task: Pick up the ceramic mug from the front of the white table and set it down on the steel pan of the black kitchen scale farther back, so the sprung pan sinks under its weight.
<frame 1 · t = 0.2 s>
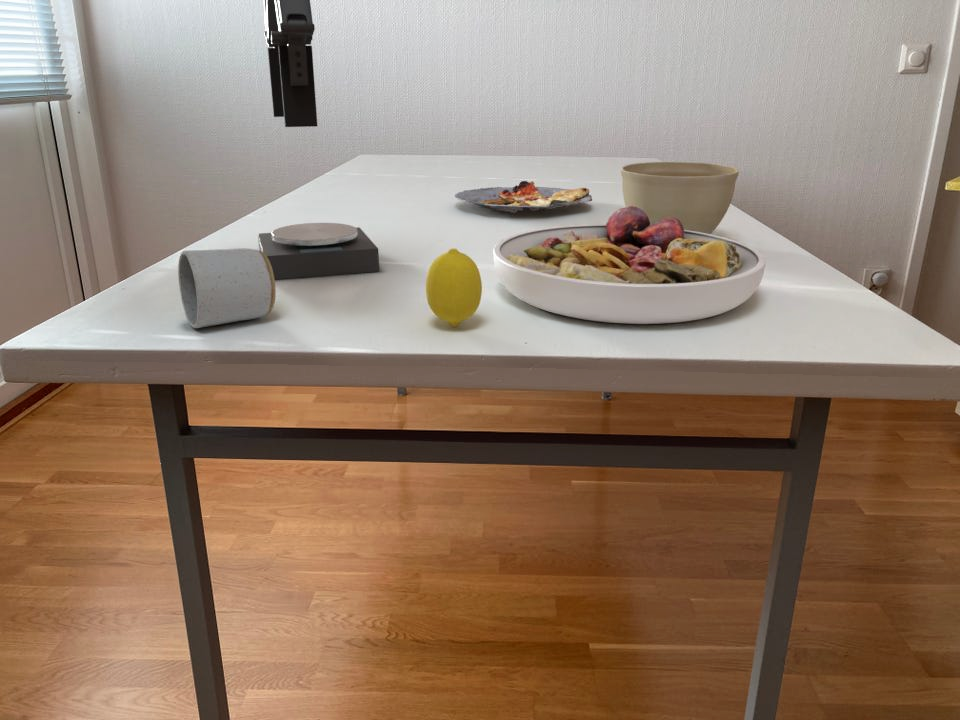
hand: (293, 121, 73), 20 cm above the table, tool pointing down, fingers open, 13 cm apart
planter bowl: (672, 244, 114), on the table
lemon: (454, 328, 78), on the table
food plate: (523, 208, 142), on the table
scale: (317, 262, 103), on the table
bowl: (622, 294, 90), on the table
ceramic mug: (224, 319, 81), on the table
scale pan: (315, 233, 102), point 4 cm above the table, slide at 0.0 cm
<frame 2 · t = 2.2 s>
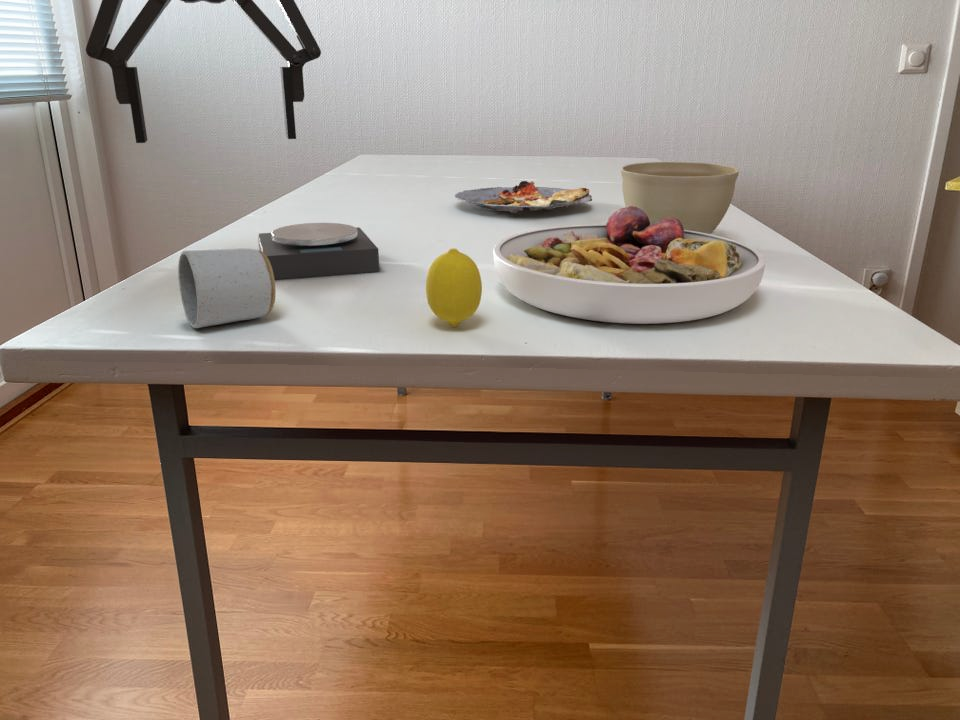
hand: (218, 140, 74), 18 cm above the table, tool pointing down, fingers open, 13 cm apart
nothing on the table moved.
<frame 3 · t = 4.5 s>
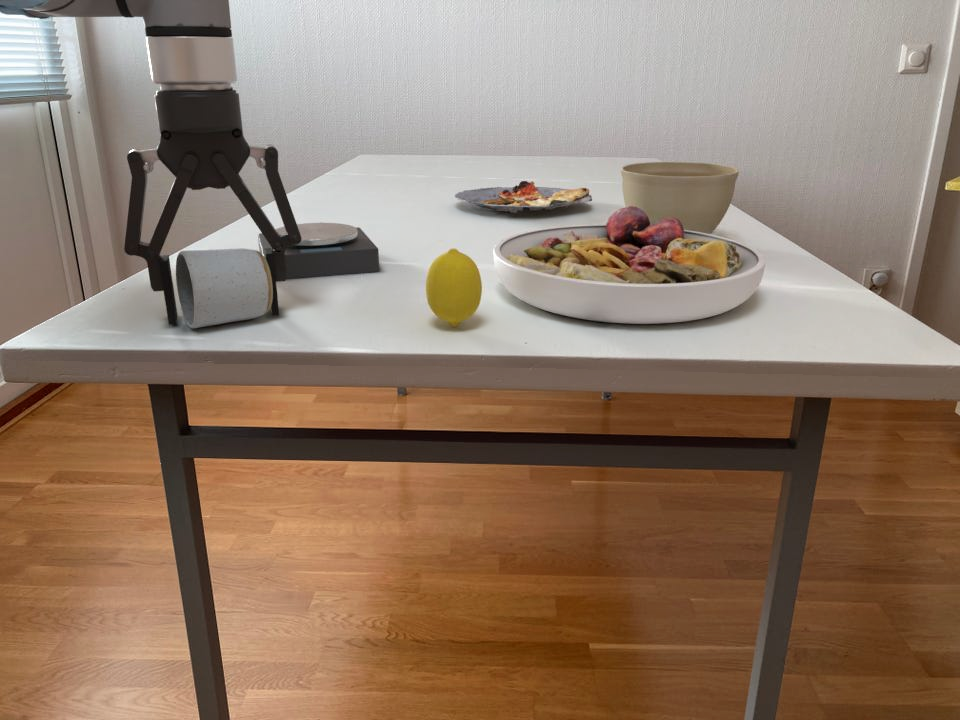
hand: (225, 315, 81), 0 cm above the table, tool pointing down, fingers open, 9 cm apart
ceramic mug: (222, 319, 81), on the table, touching gripper
everything else where it was.
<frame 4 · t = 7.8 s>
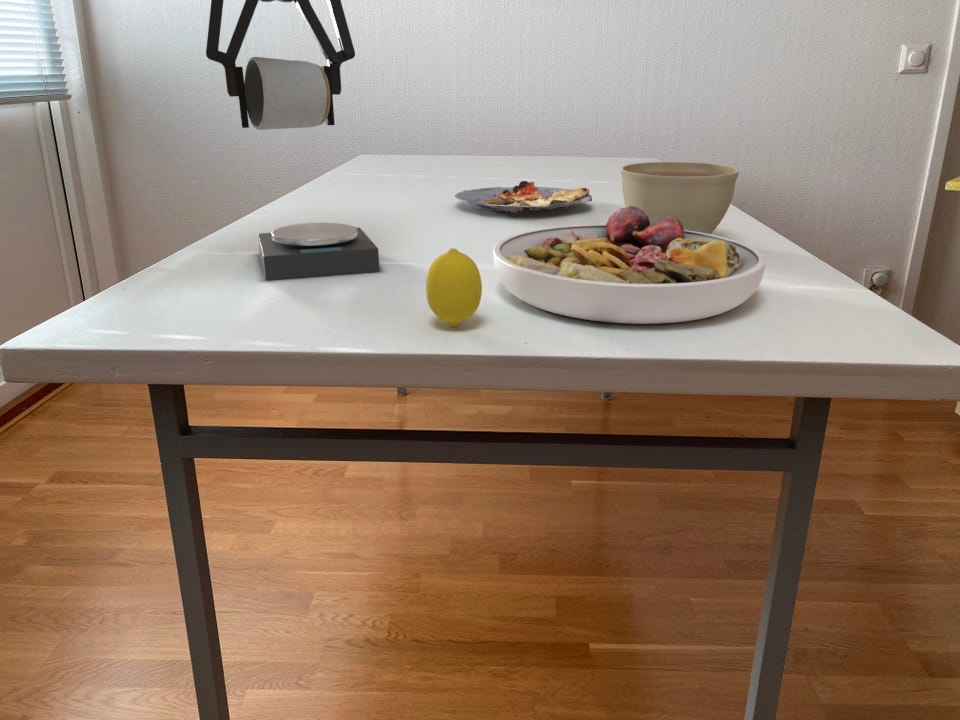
hand: (288, 125, 91), 18 cm above the table, tool pointing down, fingers closed on ceramic mug, 9 cm apart
ceramic mug: (284, 129, 91), point 17 cm above the table, touching gripper
everything else where it was.
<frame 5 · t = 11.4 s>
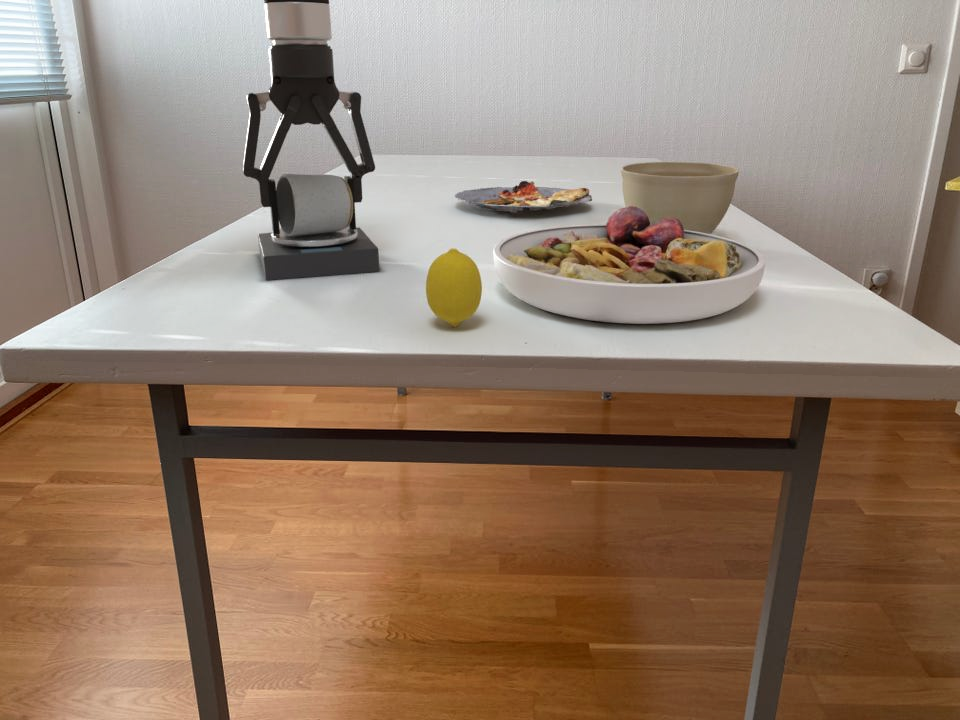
hand: (314, 229, 101), 4 cm above the table, tool pointing down, fingers closed on ceramic mug, 9 cm apart
ceramic mug: (311, 233, 101), point 4 cm above the table, touching gripper
scale pan: (315, 234, 102), point 4 cm above the table, slide at -0.1 cm, touching gripper
everything else where it was.
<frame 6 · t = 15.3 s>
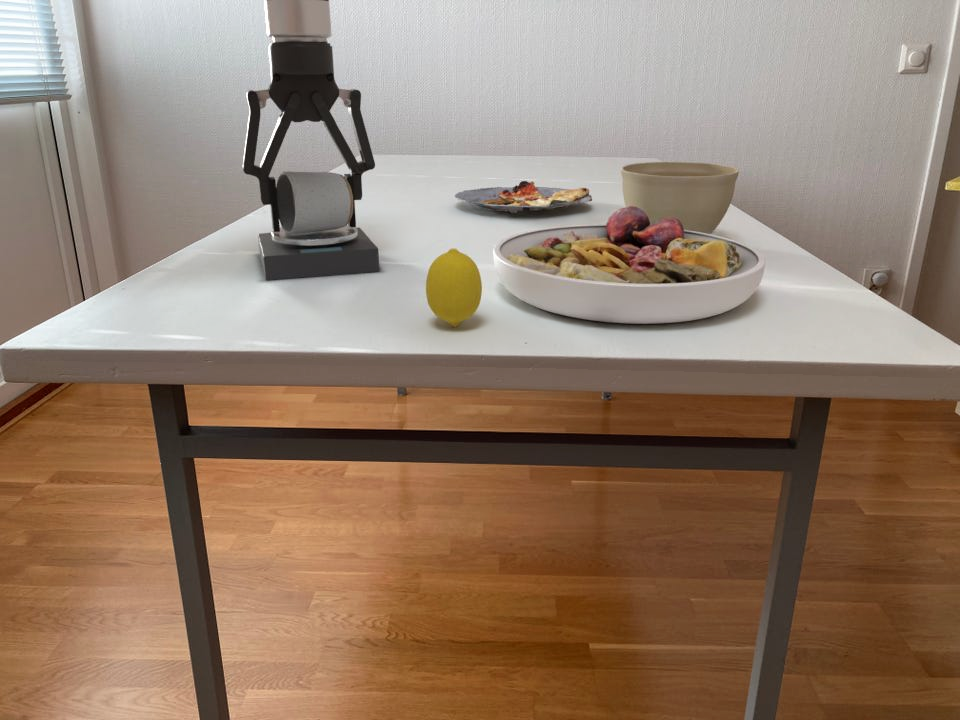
hand: (314, 227, 101), 5 cm above the table, tool pointing down, fingers closed on ceramic mug, 9 cm apart
ceramic mug: (311, 230, 101), point 4 cm above the table, touching gripper
scale pan: (315, 233, 102), point 4 cm above the table, slide at 0.0 cm
everything else where it was.
when the fingers open (5 cm above the table, at t = 18.9 s): ceramic mug drops 1 cm, resting on scale pan.
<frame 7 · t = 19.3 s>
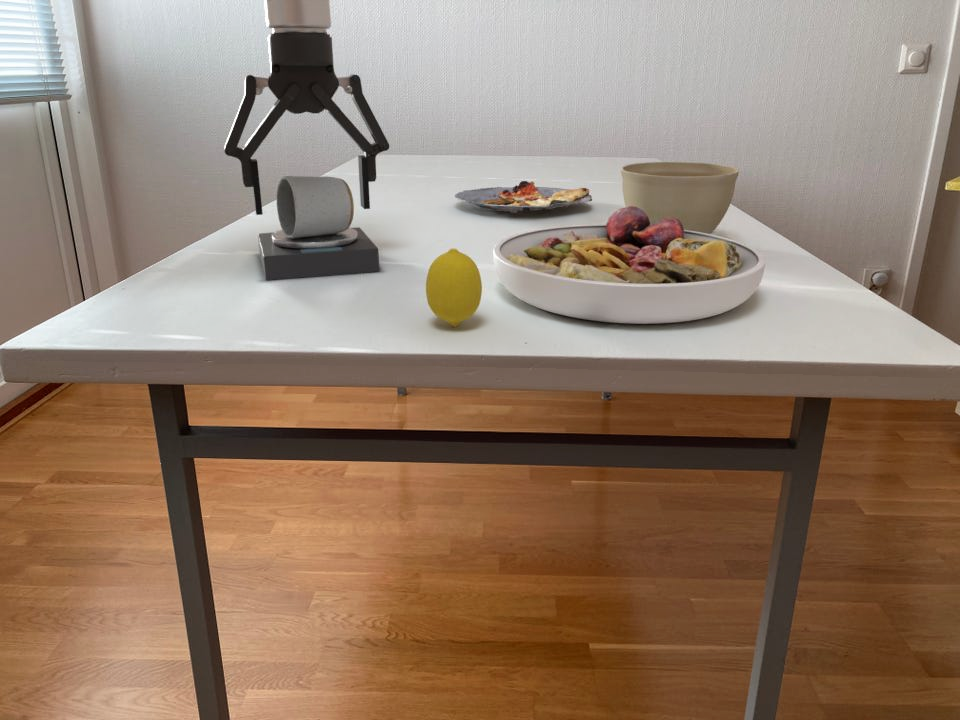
hand: (313, 210, 100), 7 cm above the table, tool pointing down, fingers open, 13 cm apart
ceramic mug: (311, 235, 101), point 4 cm above the table, touching scale pan
scale pan: (315, 236, 102), point 4 cm above the table, slide at -0.4 cm, touching ceramic mug, scale
everything else where it was.
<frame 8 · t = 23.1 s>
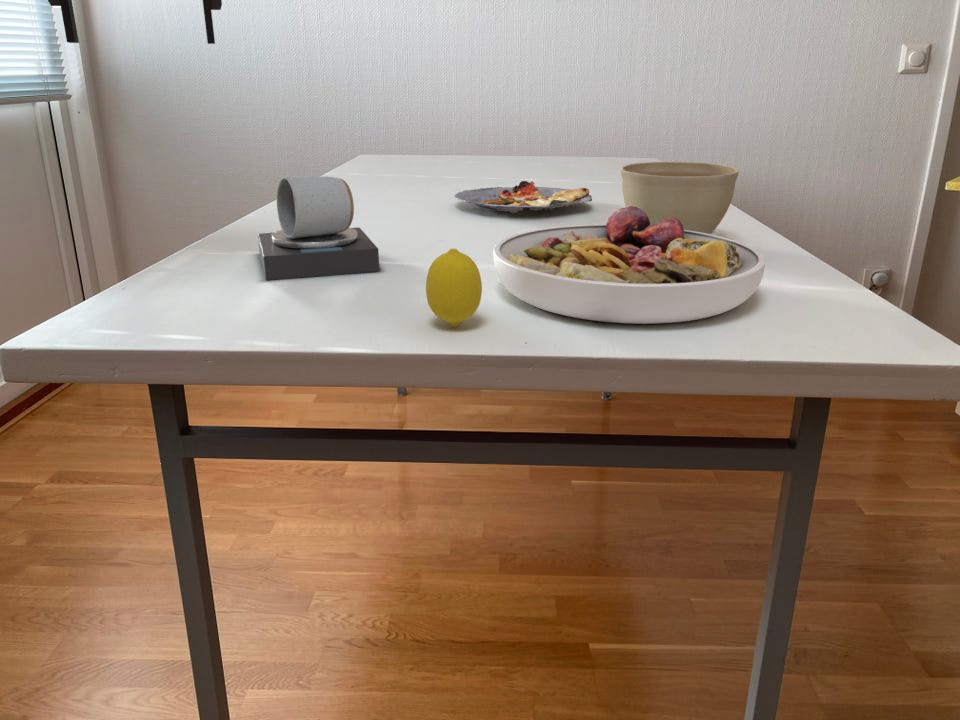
hand: (143, 43, 82), 27 cm above the table, tool pointing down, fingers open, 13 cm apart
nothing on the table moved.
at the end: ceramic mug inside the target area on the scale (0.4 cm from its centre), point 3.8 cm above the scale's base; ceramic mug tilted 1°; scale pan slide at -0.4 cm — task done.
